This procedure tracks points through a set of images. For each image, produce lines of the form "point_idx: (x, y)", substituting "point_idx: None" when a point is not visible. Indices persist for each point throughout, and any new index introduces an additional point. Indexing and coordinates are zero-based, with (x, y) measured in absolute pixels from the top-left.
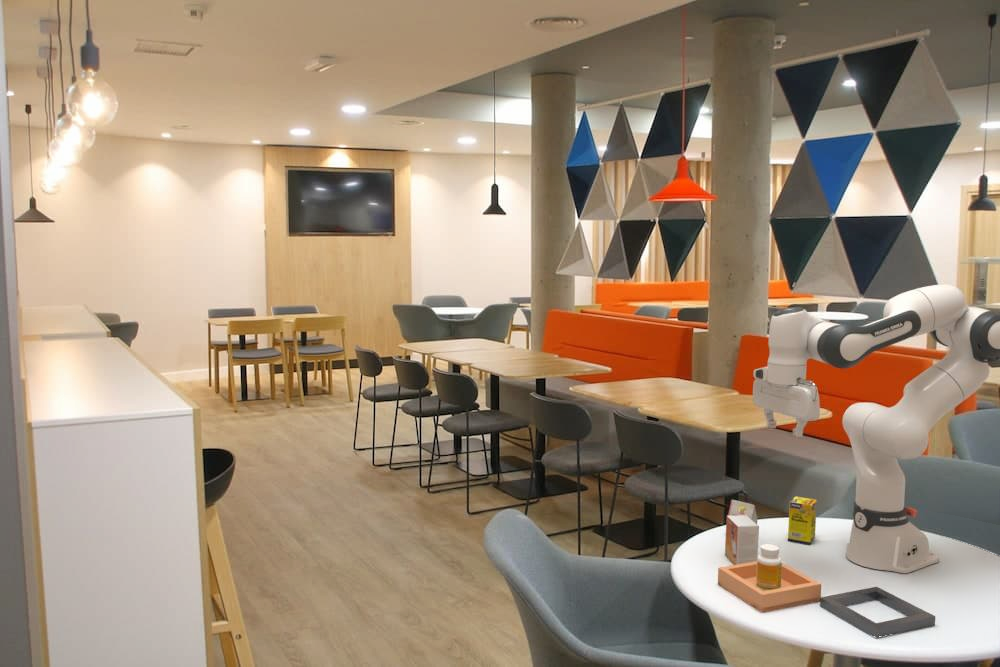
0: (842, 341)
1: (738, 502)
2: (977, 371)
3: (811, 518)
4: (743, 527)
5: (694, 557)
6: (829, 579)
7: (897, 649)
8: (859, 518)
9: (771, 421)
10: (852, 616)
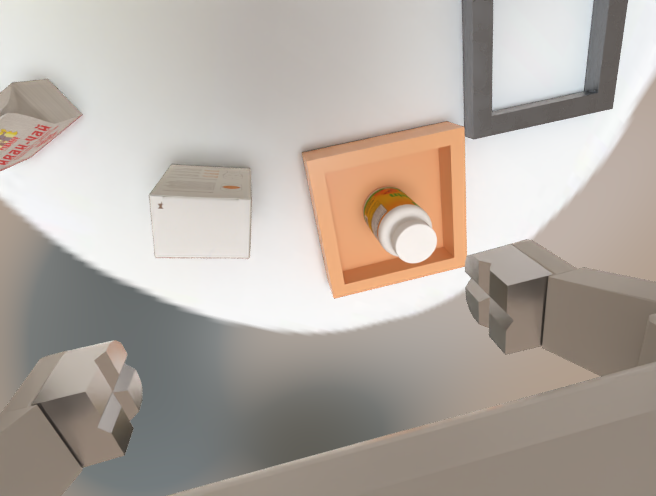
0: None
1: None
2: None
3: None
4: (250, 242)
5: (186, 282)
6: (354, 27)
7: (639, 92)
8: None
9: (118, 445)
10: (556, 120)
